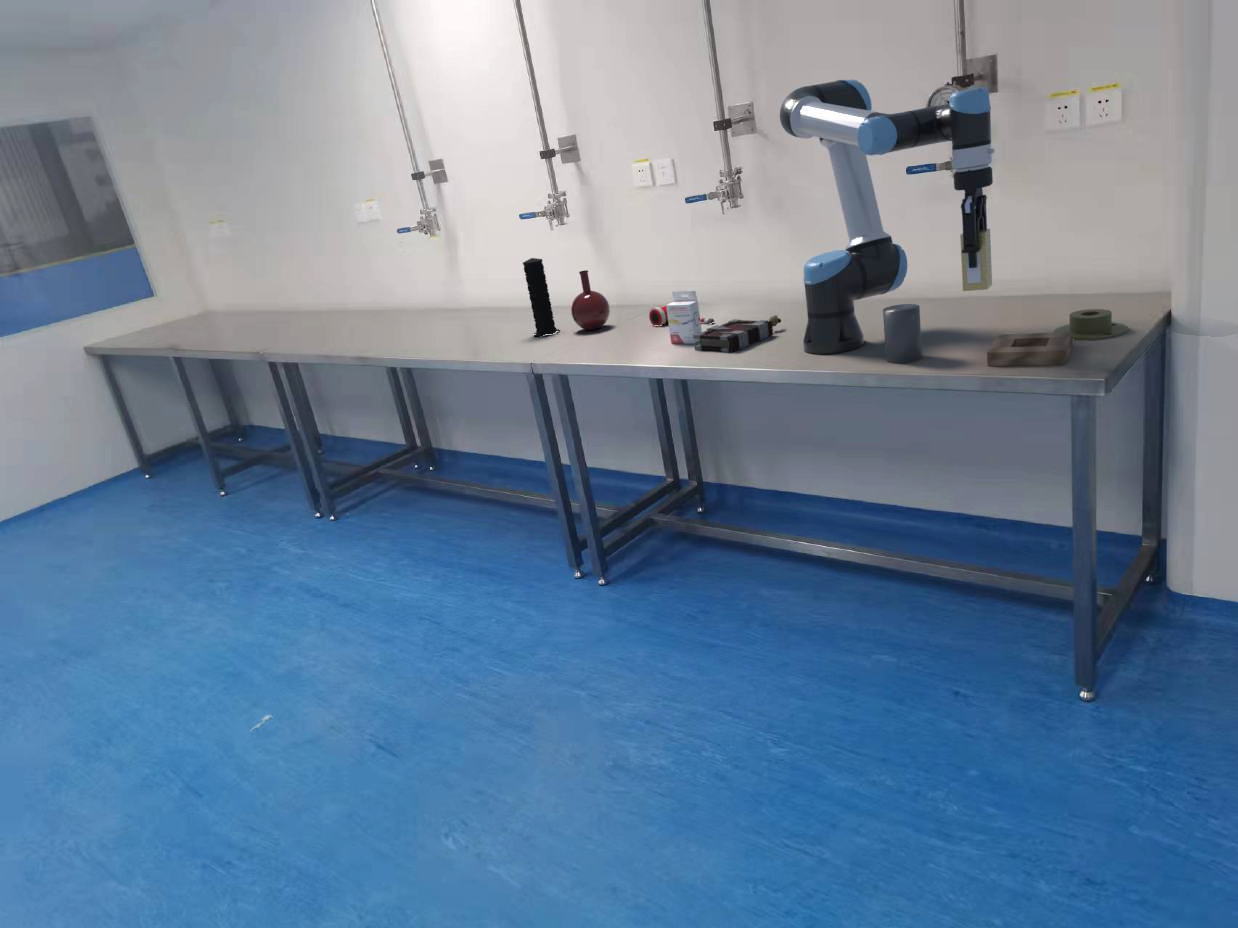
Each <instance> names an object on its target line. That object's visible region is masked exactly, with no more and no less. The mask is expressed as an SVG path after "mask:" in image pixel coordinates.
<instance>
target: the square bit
mask: <svg viewBox="0 0 1238 928" xmlns="http://www.w3.org/2000/svg"><path fill="white" fill-rule="evenodd" d="M963 247H964V246H963V232H962V233H961V234H960V257H961V276H962V291H963V292H966V291H967V292H968V291H969V292H970V291H971V292H972V291H985V290H986V291H987V290H989V289H990V288H991V286H993V272H992V271H993V270H992V245H991V228H987V229H984V230H979V251H980V255H981V279H982V282H979V283H968V282H967V260H966V253H962V250H963Z"/></svg>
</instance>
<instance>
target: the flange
mask: <svg viewBox="0 0 1238 928" xmlns="http://www.w3.org/2000/svg"><path fill="white" fill-rule="evenodd" d="M1112 315H1113V313H1112V311H1111V310H1109V309H1104V308H1102V309H1101V308H1094V309H1093V308H1090V309H1081V310H1076V311H1073V312H1071V313H1069V320H1068V321H1069V324H1065V325H1062V326H1059V327H1057V328H1055V329H1054V330H1053V333H1061V332H1073V339H1074V340H1073V341H1076V340H1088V341H1097V340H1098V341H1100V340H1107V339H1114V338H1117V337H1120V336H1124V335H1125V334H1127V333H1128V332H1129V326H1127V324H1124V323H1121V322H1115V321H1113V320H1112V319H1113V318H1112V317H1113V316H1112Z"/></svg>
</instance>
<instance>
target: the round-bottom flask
mask: <svg viewBox="0 0 1238 928" xmlns="http://www.w3.org/2000/svg"><path fill="white" fill-rule="evenodd" d="M578 274H579V275H580V280H581V287H582V291H583V292H581V293H579V294H578V295H577V296H576V297H575V298H574V300H573V301H572V303H571V309H570V311H571V316H572V317H571V318H572V320H573V321H574V323H575V324H576V325H577V326H578V327H580V328H581V329H583V330H587V331H593V330H594V329H595V330H598V329H600V328H602V327H603V326H604V325H605V324H606V323H607V321H608V320H609V318H610V313H611V309H610V303H609V301H608V300H607V298H606V296H604V294H602V293H601V292H598V291H594V290H592V289H591V283H590V279H589V270H586V269H584V270H580V271H579V272H578ZM595 330H594V331H595Z"/></svg>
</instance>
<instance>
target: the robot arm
mask: <svg viewBox="0 0 1238 928" xmlns="http://www.w3.org/2000/svg"><path fill="white" fill-rule="evenodd" d="M990 101H991V99H990V94H989V89H987V88H986V87H983V86H982V87H981V86H980V87H976V88H970V89H965V90H960V91H956V92H952V93H951V94H950V96H949V103H946V104H938V105H931V106H927V107H923V108H918V109H913V110H907V111H902V112H896V113H885V112H878V111H875V110H874V111H873V109H872V108H873V106H872V99H871V96H870V93H869V91H868V90H867V88H866V86H865V85H864V84H862V82H859V81H858V80H856V79H838V80H835V81H834V80H833V81H830V82H829V81H828V82H824V83H819V84H814V85H813V84H812V85H805V86H801V87H799V88H796V89H795V90H792V91H791V92H790V93H789V94H788V95H787V96H786V97H785V99H784V100H783V102H782V104H781V107H780V108H779V109H780V110H779V121H780V124H781V127H782V128H783V129H784V131H785V132H786V133H788V134H789V135H791V136H792V137H795V138H799V139H805V140H806V139H811V138H814V137H815V138H816V137H817V138H819V142H820V145H821V146H823V147H825V148H826V149H828V154H829V159H830V163H831V167H832V171H833V176H834V181H835V185H836V189H837V192H838V193H837V194H838V197H839V202H840V205H841V210H842V215H843V218H844V222H845V223H844V224H845V228H846V232H847V235H848V243H847V245H846V247H845V249H838V250H833V251H829V252H823V253H821V254H818V255H815V256H814V257H813V256H812V257H811V258H809V259H807V261H806V262H805V264H804V265H803V283H804V293H805V300H806V301H805V302H806V312H807V323H806V327H805V331H804V335H803V343H802V344H803V351H804V352H806V353H808V354H809V353H810V354H817V355H819V354H821V355H824V354H825V355H826V354H827V355H828V354H839V353H844V352H848V351H851V350H853V351H854V350H857V349H858V348H860V347H862V346H864V343H865V340H864V339H865V338H864V337H865V335H864V333H863V331H862V328H861V326H860V324H859V321H858V319H857V317H856V313H855V312H856V311H855V301H858V300H863V299H867V298H870V297H874V296H878V295H879V296H880V295H884V294H887V293H889V292H892V291H893V292H894V291H895V290H897V289H899V288H900V287H901V286H902V284H903V283H904V281H905V279H906V277H907V274H908V273H907V272H908V259H907V255H906V251H905V250H904V249H903V247H902V246H901V245H899V244H897V243H894V242H893V237H892V235H890V234H889V233H887V232H885V230H884V228H883V227H884V226H883V223H882V218H881V214H880V210H879V206H878V201H877V198H876V193H875V189H874V184H873V179H872V175H871V170H870V167H869V162H868V158H867V156H877V155H878V156H882V155H885V154H887V153H894V152H897V151H898V152H900V151H902V150H907V149H911V148H912V149H913V148H918V147H923V146H928V145H935V144H939V143H946V142H951V143H952V144H951V145H952V146H951V149H952V150H951V151H952V152H951V153H952V155H951V156H952V169H953V170H956V171H955V172H954V173H953V188H954V191H964V198H962V201H961V204H960V209H961V217H962V218H961V221H962V233H963V246H964V247H963V250H962V253H966V260H967V282H968V283H979V282H982V279H981V255H980V251H979V230H984V229H988V224H987V223H988V222H987V221H988V220H987V219H988V218H987V199H988V198H987V195H986V194H984V193H983V192H984V191H983V188H986V187H990V186H992V185H993V182H994V181H993V179H994V178H993V177H994V176H993V168H992V167H991V166H989V165H990V164H991V163H993V161H992V154H994V153H995V148H991V147H992V131H991V130H992V127H991V126H992V125H991V121H992V120H991V110H992V107H991V102H990Z"/></svg>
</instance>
